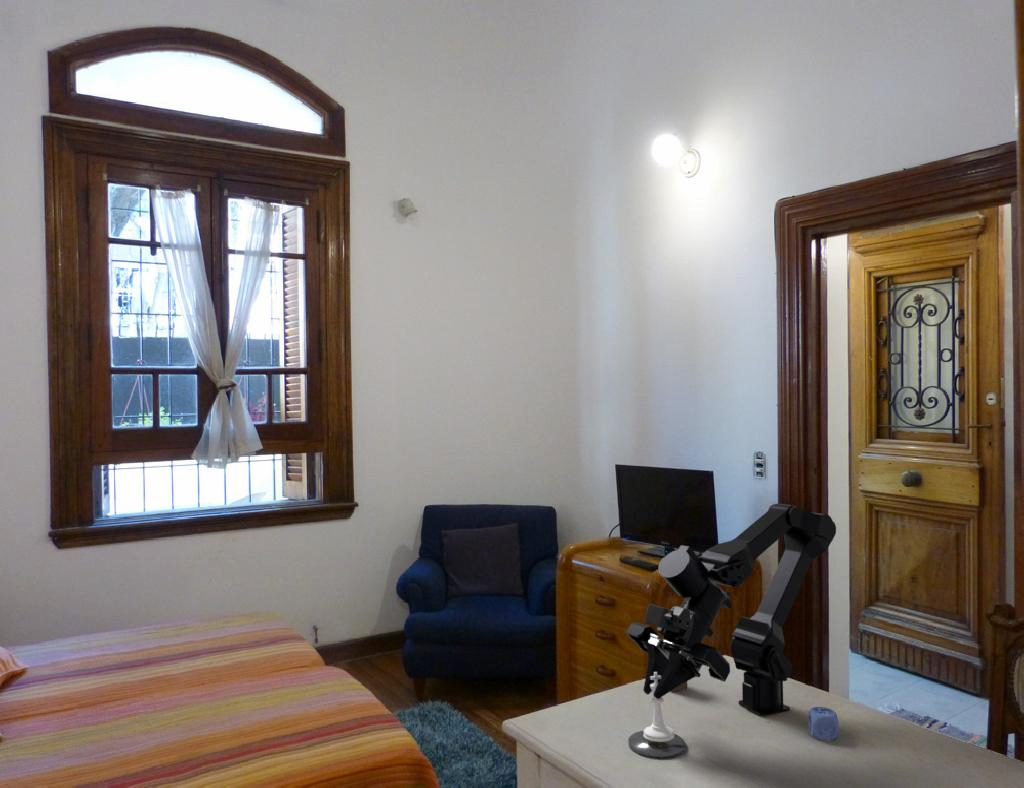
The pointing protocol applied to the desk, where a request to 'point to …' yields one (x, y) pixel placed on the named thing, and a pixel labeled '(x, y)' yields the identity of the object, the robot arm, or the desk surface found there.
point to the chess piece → (657, 718)
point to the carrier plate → (656, 746)
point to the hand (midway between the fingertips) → (650, 695)
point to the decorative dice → (823, 723)
